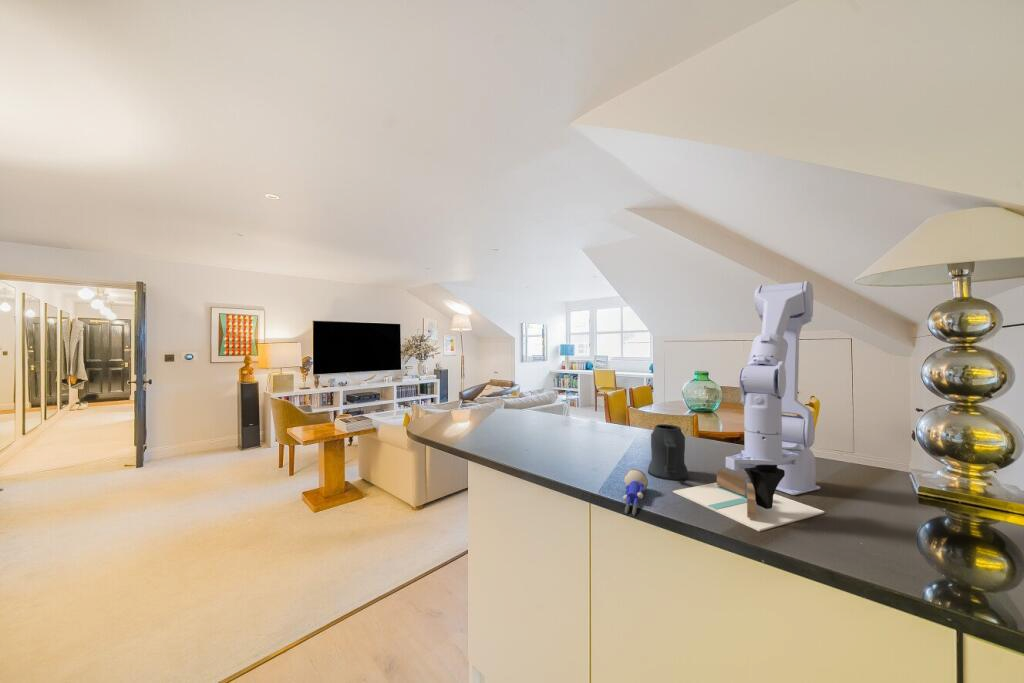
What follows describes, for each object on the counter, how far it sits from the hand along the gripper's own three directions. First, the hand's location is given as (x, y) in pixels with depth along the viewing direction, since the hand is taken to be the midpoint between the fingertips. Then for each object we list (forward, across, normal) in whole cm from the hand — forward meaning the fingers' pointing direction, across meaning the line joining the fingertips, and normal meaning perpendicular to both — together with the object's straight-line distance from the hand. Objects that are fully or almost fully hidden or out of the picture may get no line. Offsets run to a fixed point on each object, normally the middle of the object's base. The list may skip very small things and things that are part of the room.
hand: (763, 506), depth 68 cm
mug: (+1, +4, -22) cm, 22 cm away
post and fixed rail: (+1, -3, -9) cm, 9 cm away
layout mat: (+1, -1, -5) cm, 6 cm away
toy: (+2, +19, -11) cm, 22 cm away
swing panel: (+1, +2, -1) cm, 2 cm away
